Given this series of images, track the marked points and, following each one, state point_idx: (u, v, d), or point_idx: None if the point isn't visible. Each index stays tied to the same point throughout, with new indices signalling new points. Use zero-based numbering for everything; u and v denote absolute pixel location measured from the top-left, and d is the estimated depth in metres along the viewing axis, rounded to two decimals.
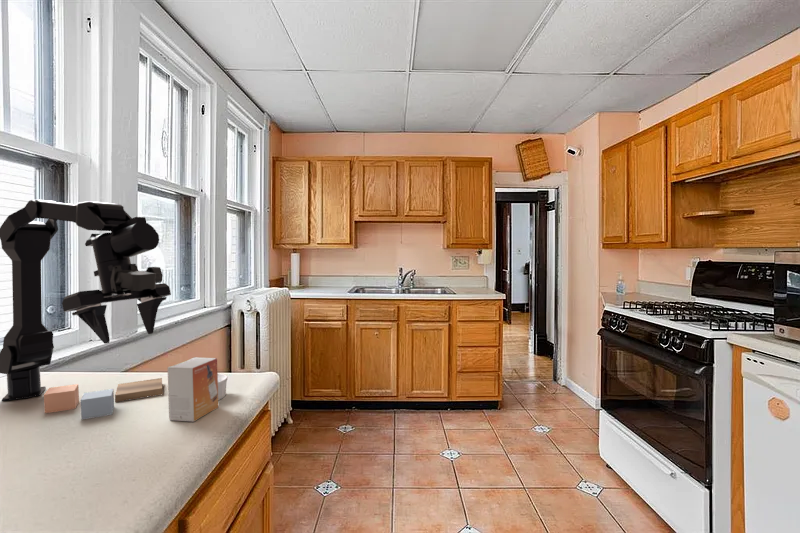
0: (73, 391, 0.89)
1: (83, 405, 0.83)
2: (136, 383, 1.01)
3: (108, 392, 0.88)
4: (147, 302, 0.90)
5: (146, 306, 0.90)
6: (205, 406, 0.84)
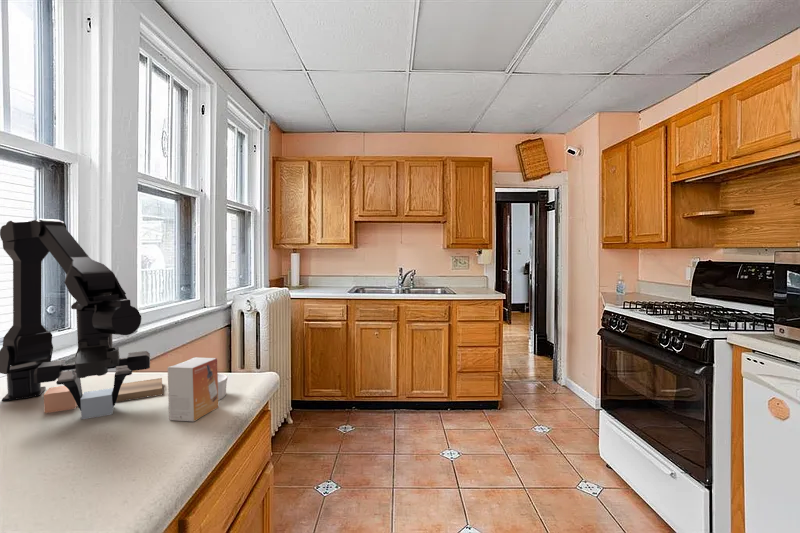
0: None
1: (83, 405, 0.83)
2: (136, 383, 1.01)
3: (108, 391, 0.88)
4: None
5: None
6: (205, 406, 0.84)
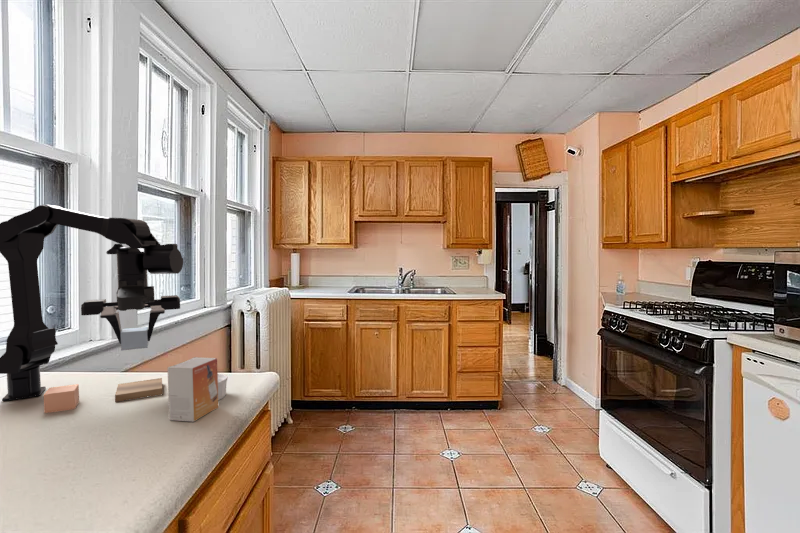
0: (73, 391, 0.89)
1: (122, 337, 0.94)
2: (136, 383, 1.01)
3: (143, 328, 0.98)
4: (150, 312, 0.98)
5: None
6: (205, 406, 0.84)
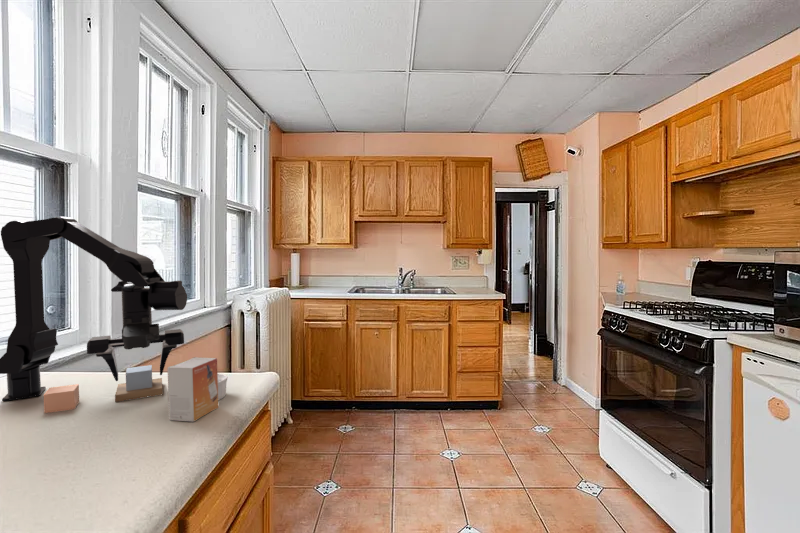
0: (73, 391, 0.89)
1: (127, 378, 0.95)
2: None
3: (148, 367, 1.00)
4: (162, 347, 1.01)
5: None
6: (205, 406, 0.84)
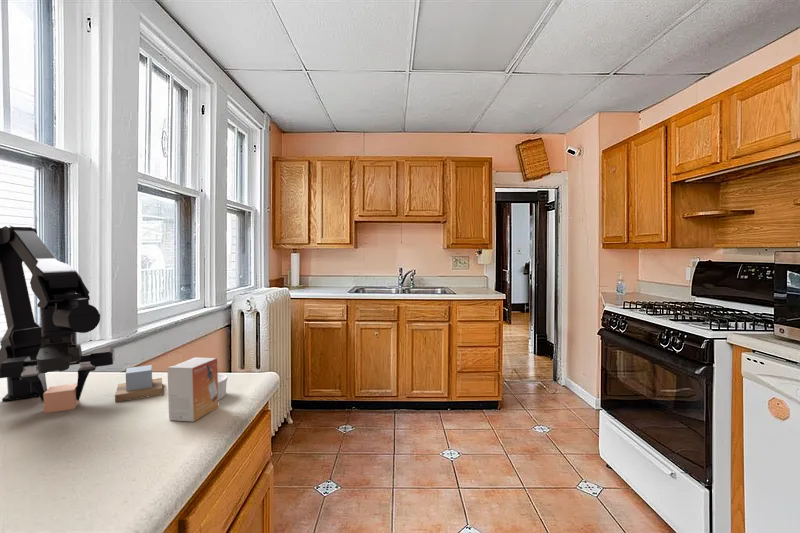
0: (72, 390, 0.89)
1: (127, 378, 0.95)
2: None
3: (148, 367, 1.00)
4: None
5: None
6: (205, 406, 0.84)
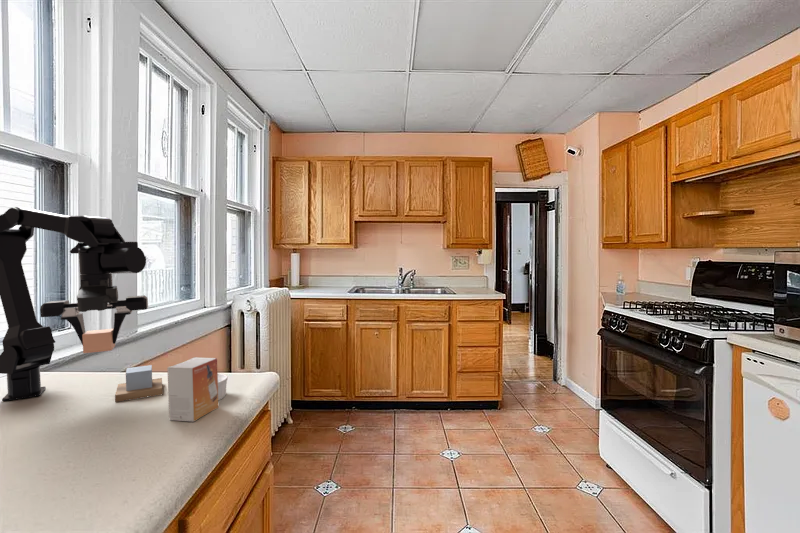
0: (109, 333, 0.92)
1: (127, 378, 0.95)
2: None
3: (148, 367, 1.00)
4: None
5: None
6: (205, 406, 0.84)
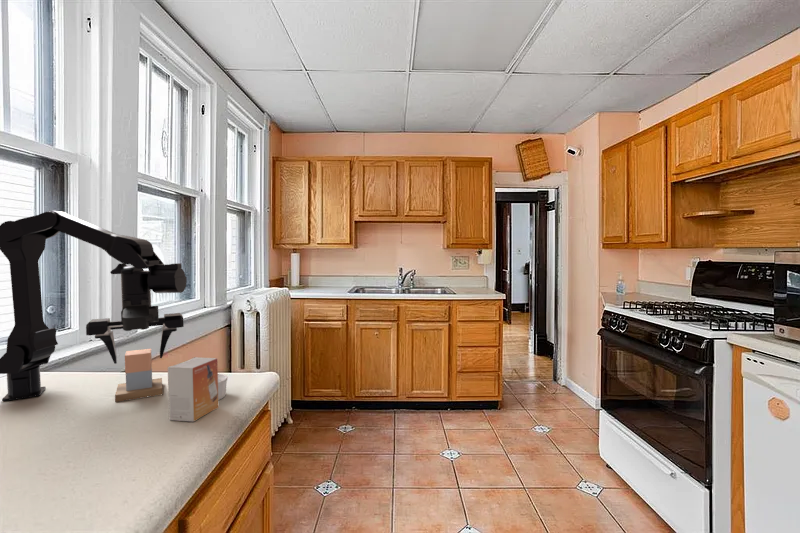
0: (149, 353, 0.97)
1: (127, 378, 0.95)
2: None
3: None
4: (162, 330, 1.00)
5: None
6: (205, 406, 0.84)
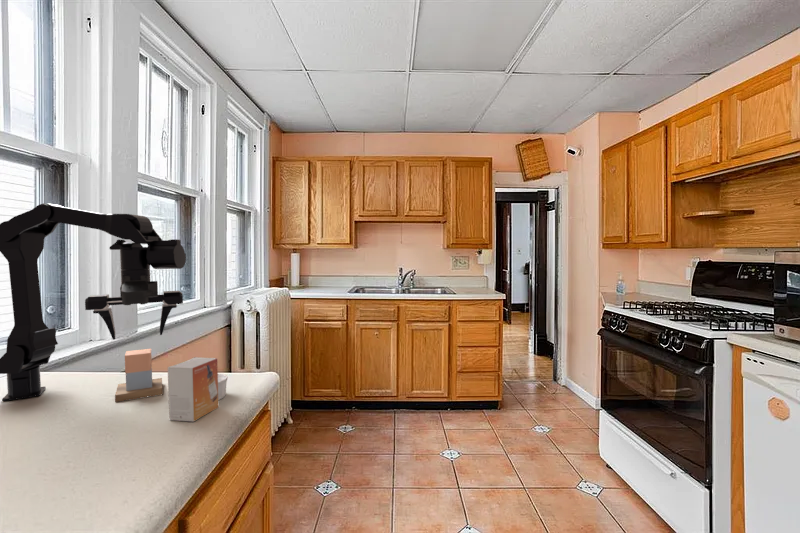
0: (149, 353, 0.97)
1: (127, 378, 0.95)
2: None
3: None
4: (162, 306, 1.00)
5: None
6: (205, 406, 0.84)
